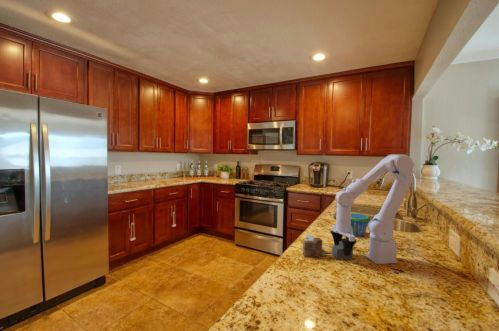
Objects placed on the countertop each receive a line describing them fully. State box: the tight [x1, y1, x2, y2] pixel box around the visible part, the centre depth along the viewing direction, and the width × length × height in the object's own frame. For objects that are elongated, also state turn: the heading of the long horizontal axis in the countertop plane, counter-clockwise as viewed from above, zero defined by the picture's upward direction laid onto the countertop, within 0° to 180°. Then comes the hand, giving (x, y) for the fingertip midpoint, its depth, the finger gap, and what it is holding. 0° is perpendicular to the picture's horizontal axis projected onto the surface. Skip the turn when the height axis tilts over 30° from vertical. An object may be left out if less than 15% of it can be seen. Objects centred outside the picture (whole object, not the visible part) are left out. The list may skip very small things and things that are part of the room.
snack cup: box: [350, 212, 371, 237], centre depth 121 cm, size 16×10×10 cm
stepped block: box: [331, 241, 354, 260], centre depth 95 cm, size 7×4×6 cm, turn 96°
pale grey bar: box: [305, 233, 315, 241], centre depth 104 cm, size 12×2×4 cm, turn 11°
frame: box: [302, 237, 332, 258], centre depth 97 cm, size 21×4×7 cm, turn 96°
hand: (342, 251), depth 95 cm, fingers open, 7 cm apart
